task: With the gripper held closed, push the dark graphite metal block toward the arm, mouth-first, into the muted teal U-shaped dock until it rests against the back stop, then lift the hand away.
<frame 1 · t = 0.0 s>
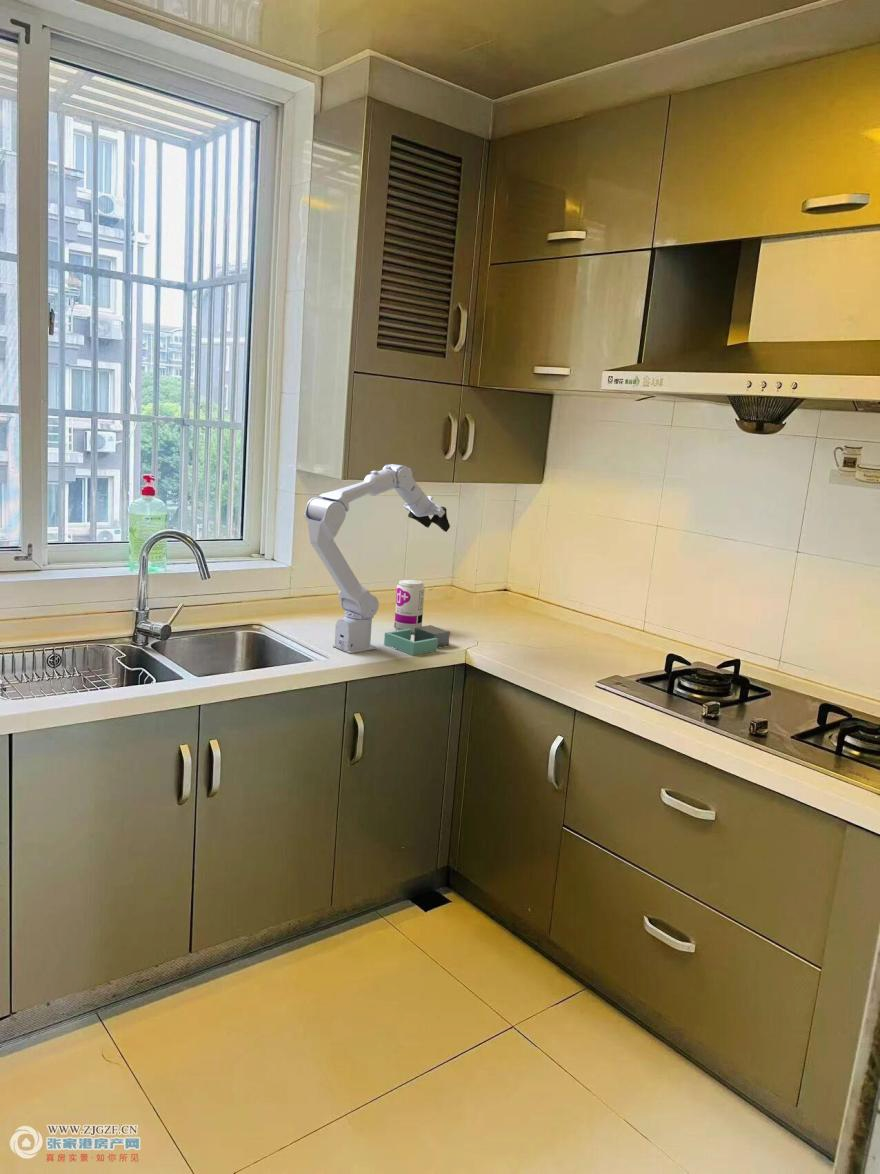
hand: (438, 526, 254), 32 cm above the worktop, tool tilted 50°, fingers open, 7 cm apart
supplement can: (407, 631, 264), on the worktop
dock: (410, 647, 245), on the worktop
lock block: (431, 644, 251), on the worktop
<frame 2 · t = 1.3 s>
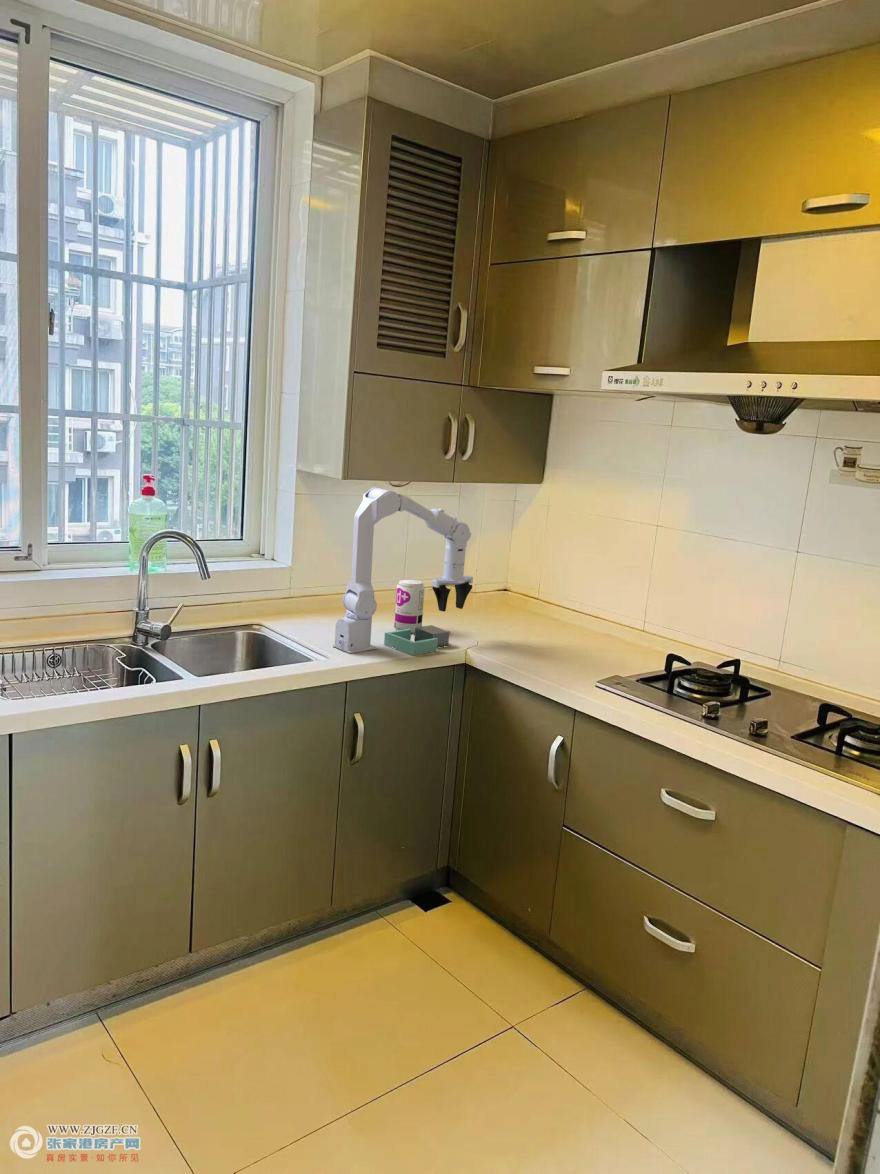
hand: (450, 609, 253), 9 cm above the worktop, tool pointing down, fingers open, 6 cm apart
nothing on the worktop moved.
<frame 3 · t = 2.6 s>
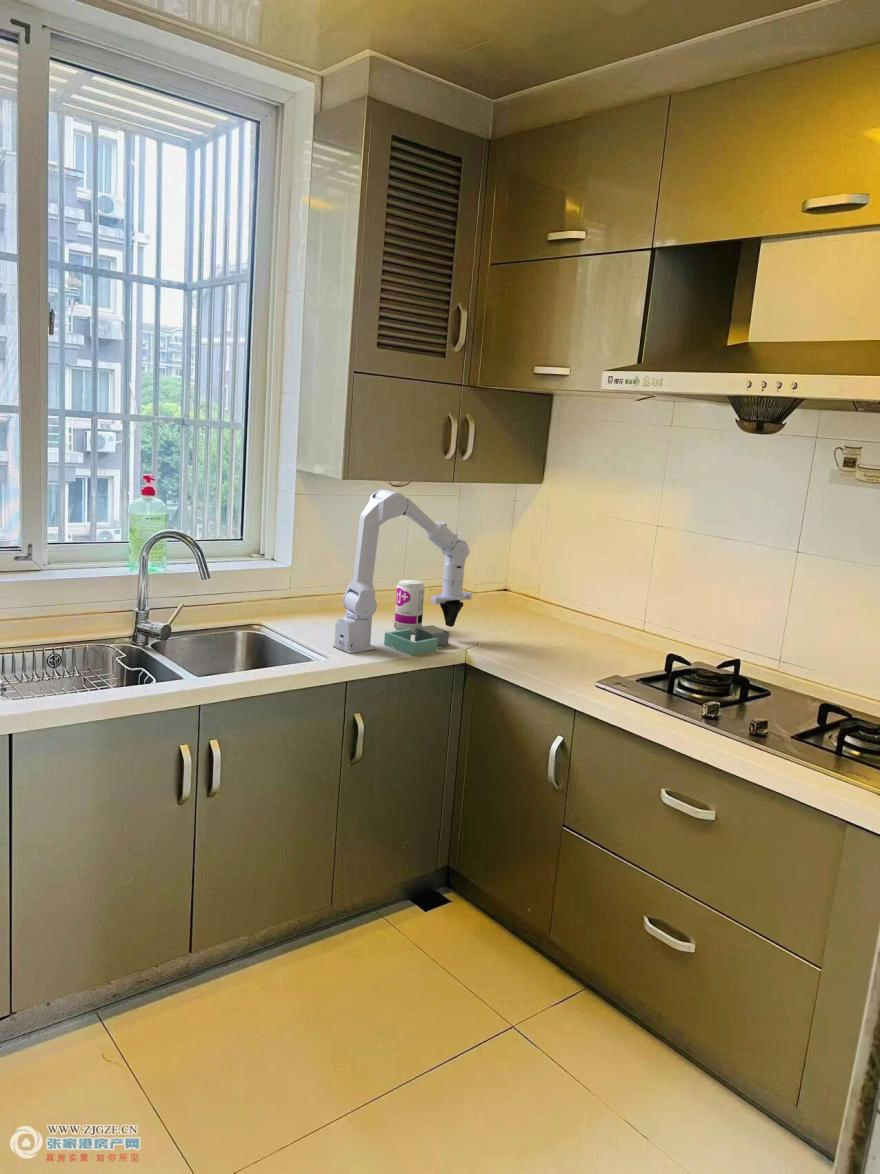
hand: (449, 625, 254), 5 cm above the worktop, tool pointing down, fingers closed
nothing on the worktop moved.
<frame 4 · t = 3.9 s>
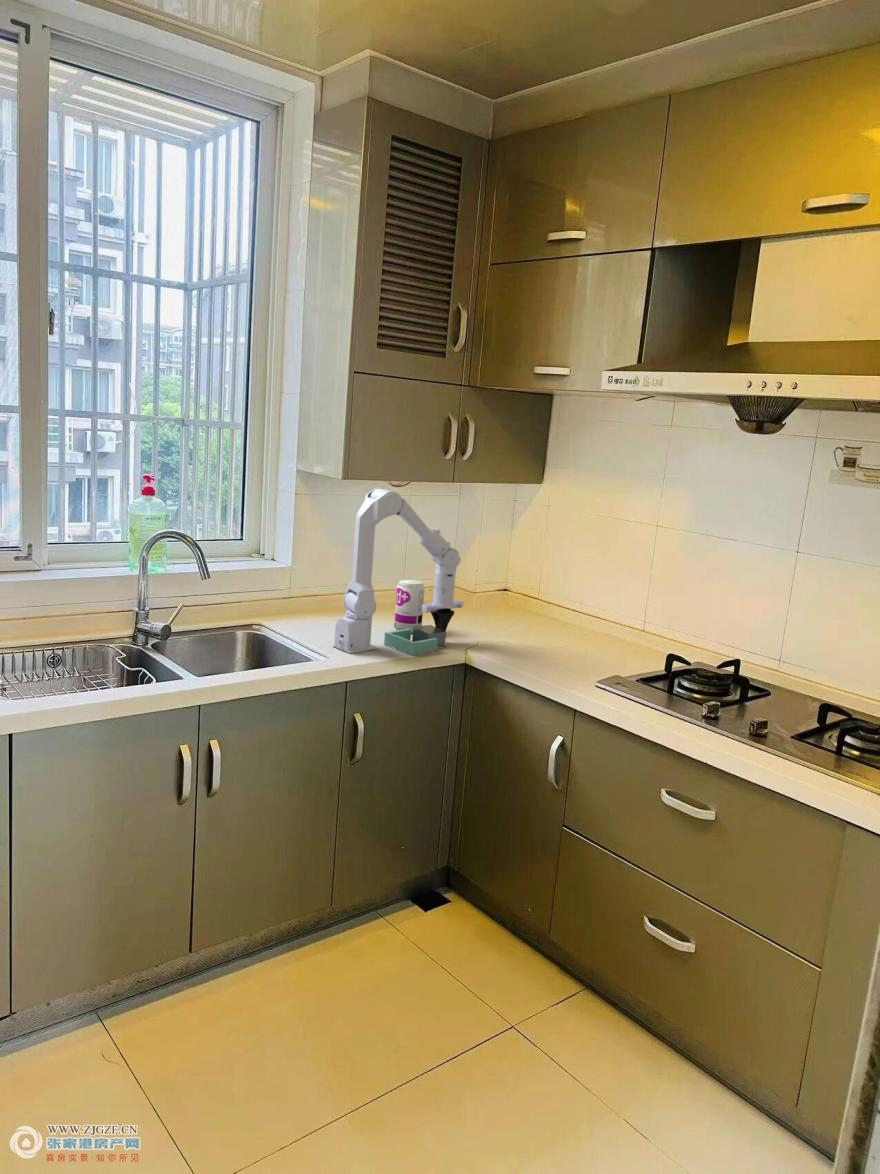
hand: (440, 634, 253), 2 cm above the worktop, tool pointing down, fingers closed
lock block: (428, 644, 250), on the worktop, touching gripper
everything else where it was.
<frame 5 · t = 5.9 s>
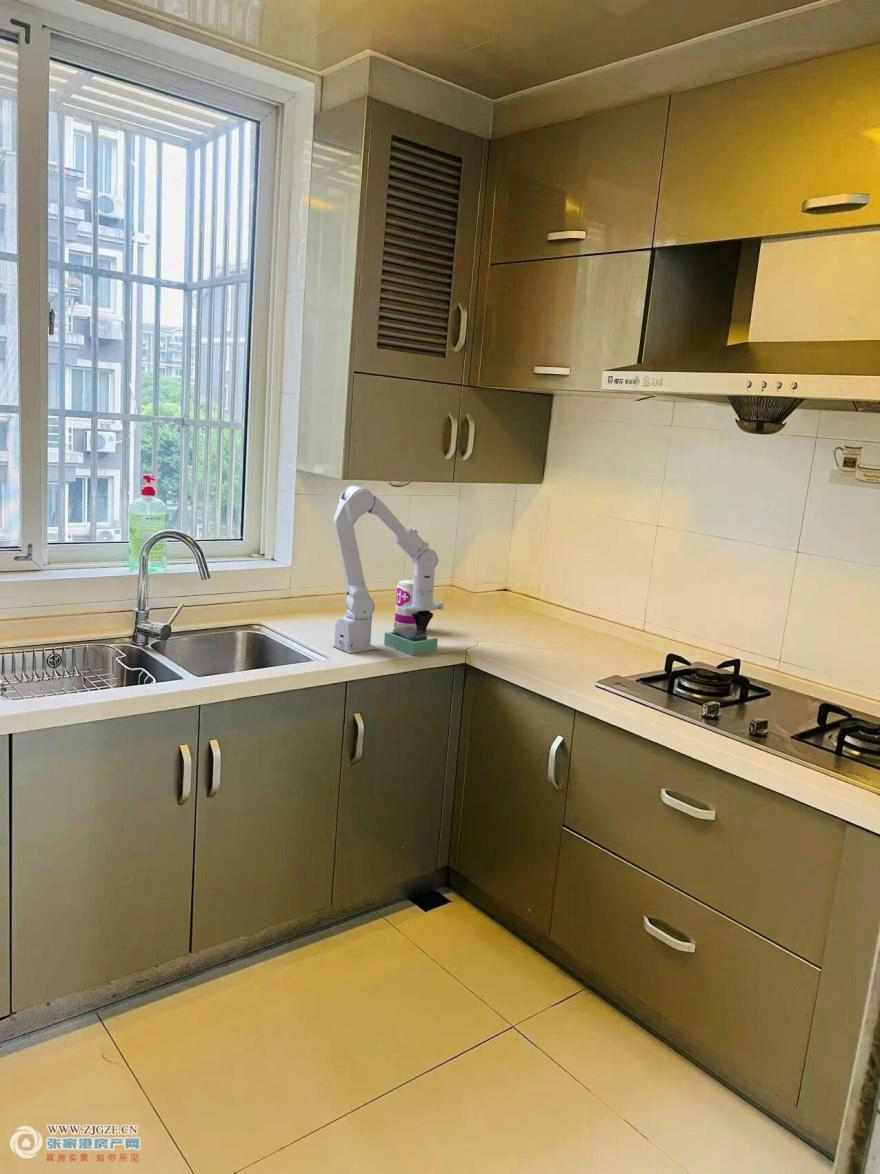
hand: (420, 636, 247), 3 cm above the worktop, tool pointing down, fingers closed, pressing on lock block
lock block: (409, 646, 246), on the worktop, touching dock, gripper
everything else where it was.
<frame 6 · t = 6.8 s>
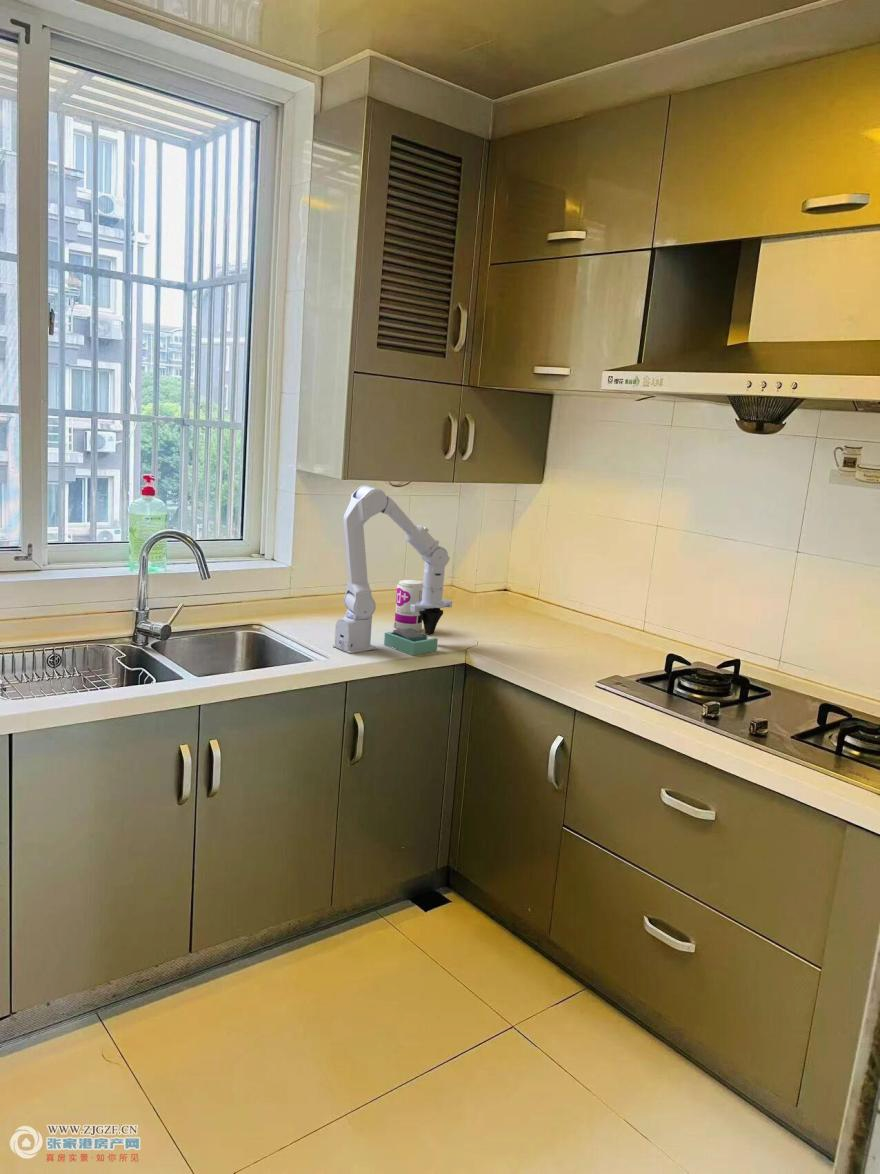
hand: (429, 634, 249), 3 cm above the worktop, tool pointing down, fingers closed
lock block: (409, 648, 246), on the worktop
everything else where it was.
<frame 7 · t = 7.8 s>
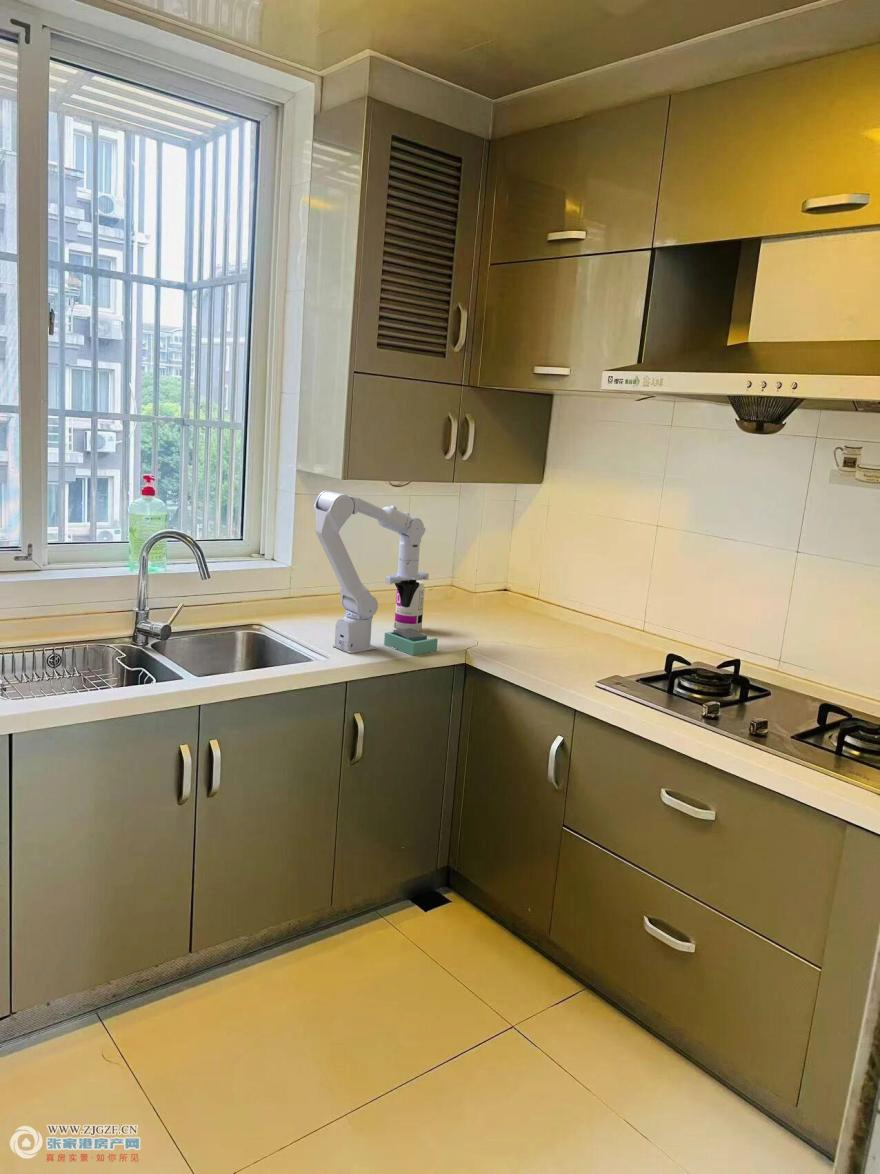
hand: (405, 606, 248), 10 cm above the worktop, tool pointing down, fingers closed
nothing on the worktop moved.
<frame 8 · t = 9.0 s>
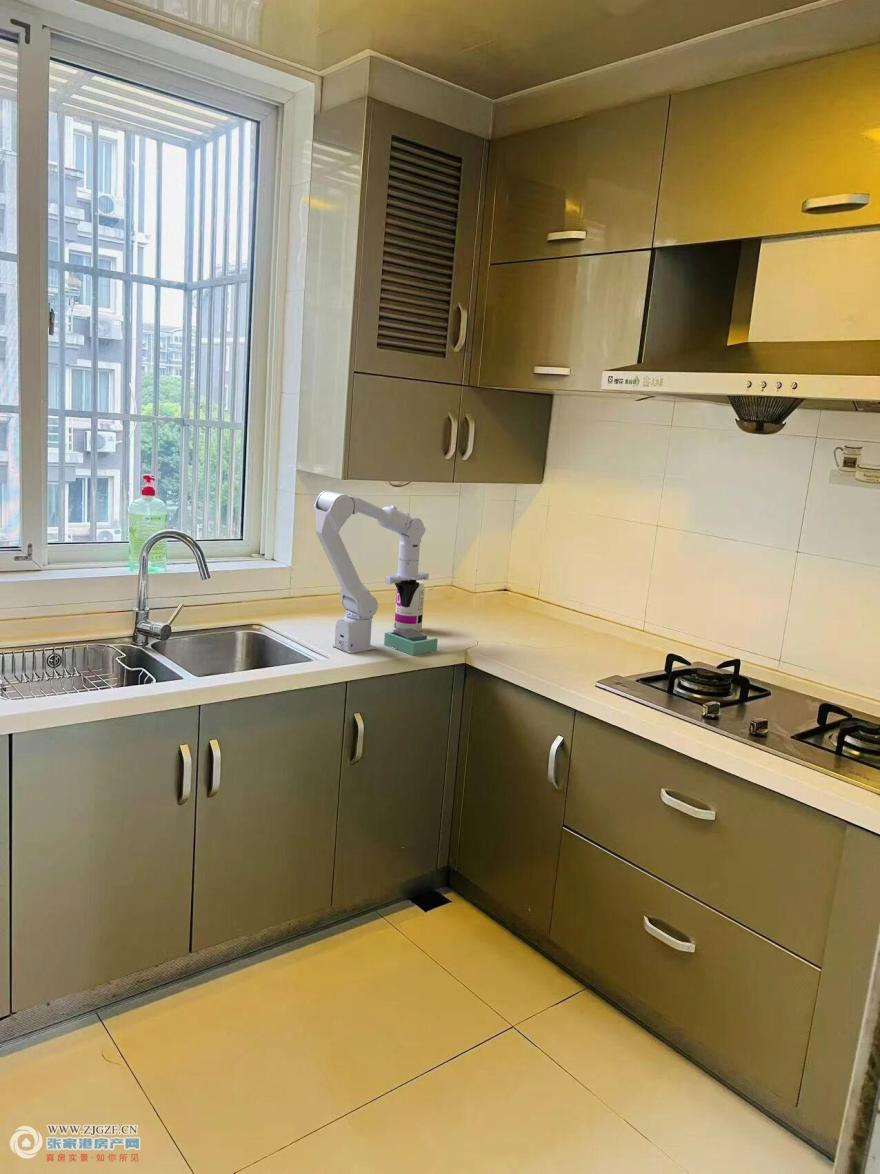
hand: (405, 606, 248), 10 cm above the worktop, tool pointing down, fingers closed
nothing on the worktop moved.
at the end: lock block 0.7 cm off-centre on the dock, point 0.0 cm above the dock's base; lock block tilted 0°; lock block moved 7.9 cm from its start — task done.
